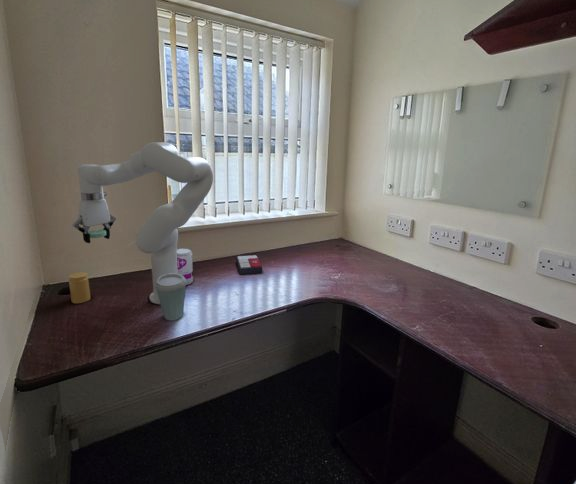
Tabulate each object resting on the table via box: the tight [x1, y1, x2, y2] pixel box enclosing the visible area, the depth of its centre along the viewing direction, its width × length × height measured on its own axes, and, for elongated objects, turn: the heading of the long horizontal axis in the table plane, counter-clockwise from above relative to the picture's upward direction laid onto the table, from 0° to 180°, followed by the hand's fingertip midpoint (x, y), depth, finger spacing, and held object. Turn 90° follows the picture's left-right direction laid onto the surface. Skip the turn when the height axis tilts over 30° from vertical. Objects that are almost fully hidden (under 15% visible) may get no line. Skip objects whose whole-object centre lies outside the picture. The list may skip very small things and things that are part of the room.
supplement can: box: [177, 247, 194, 286], centre depth 141 cm, size 8×8×15 cm
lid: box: [88, 228, 107, 239], centre depth 127 cm, size 7×7×2 cm
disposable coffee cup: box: [155, 273, 187, 321], centre depth 114 cm, size 11×11×15 cm
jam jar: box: [67, 271, 92, 304], centre depth 123 cm, size 6×6×10 cm
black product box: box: [236, 254, 263, 275], centre depth 162 cm, size 11×4×15 cm
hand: (97, 239), depth 128 cm, fingers closed on lid, 6 cm apart
